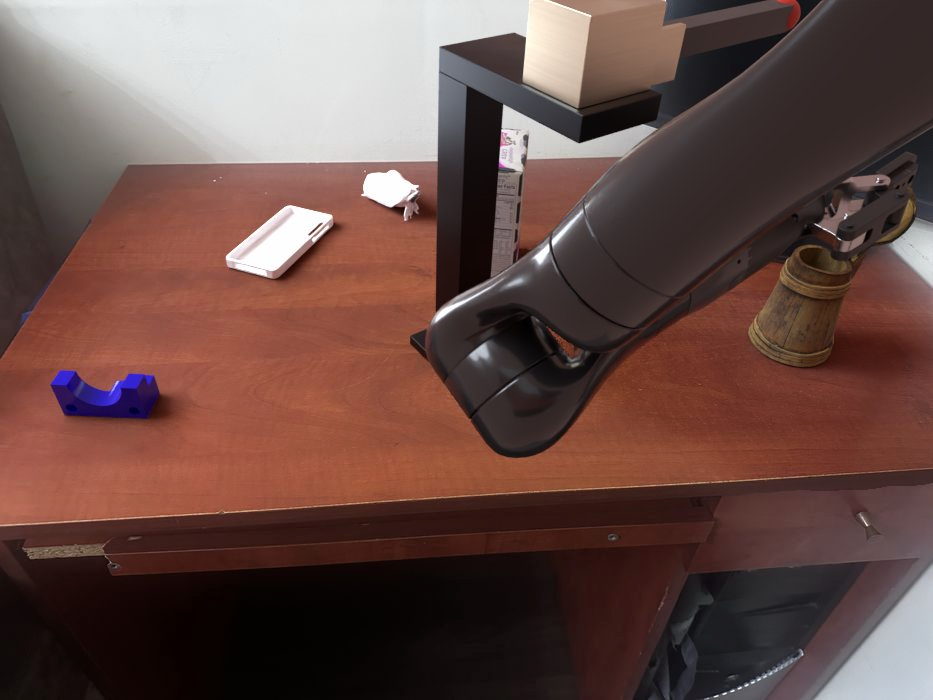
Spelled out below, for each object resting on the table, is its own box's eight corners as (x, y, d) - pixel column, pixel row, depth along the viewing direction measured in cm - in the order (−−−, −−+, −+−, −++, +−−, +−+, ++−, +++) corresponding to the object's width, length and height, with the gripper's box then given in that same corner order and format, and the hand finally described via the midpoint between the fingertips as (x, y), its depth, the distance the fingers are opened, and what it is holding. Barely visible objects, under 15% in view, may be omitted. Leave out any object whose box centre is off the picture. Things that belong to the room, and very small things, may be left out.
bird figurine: (428, 215, 103) (378, 179, 106) (431, 180, 98) (379, 143, 100) (405, 232, 101) (355, 195, 104) (407, 198, 95) (354, 160, 98)
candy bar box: (482, 243, 95) (489, 125, 85) (519, 247, 95) (531, 129, 85) (473, 290, 87) (479, 166, 76) (513, 294, 86) (525, 170, 76)
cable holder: (160, 393, 71) (150, 363, 68) (147, 418, 68) (136, 388, 66) (80, 390, 71) (67, 360, 68) (64, 415, 68) (50, 384, 66)
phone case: (288, 212, 100) (225, 267, 89) (287, 204, 99) (223, 257, 88) (335, 223, 98) (276, 280, 87) (334, 215, 97) (274, 271, 86)
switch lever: (649, 72, 53) (657, 33, 51) (620, 60, 55) (626, 22, 53) (801, 34, 62) (812, -1, 61) (772, 25, 64) (782, -9, 62)
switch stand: (519, 449, 67) (573, 25, 43) (409, 343, 79) (403, -39, 54) (615, 396, 73) (710, -1, 49) (501, 305, 85) (532, -54, 60)
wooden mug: (876, 347, 81) (951, 207, 70) (785, 375, 77) (849, 230, 65) (819, 304, 88) (879, 169, 76) (732, 327, 83) (782, 187, 72)
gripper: (802, 247, 40) (970, 130, 45) (624, 155, 49) (781, 65, 54) (779, 337, 46) (931, 224, 51) (623, 240, 55) (765, 152, 59)
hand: (853, 142), depth 52 cm, fingers open, 8 cm apart
